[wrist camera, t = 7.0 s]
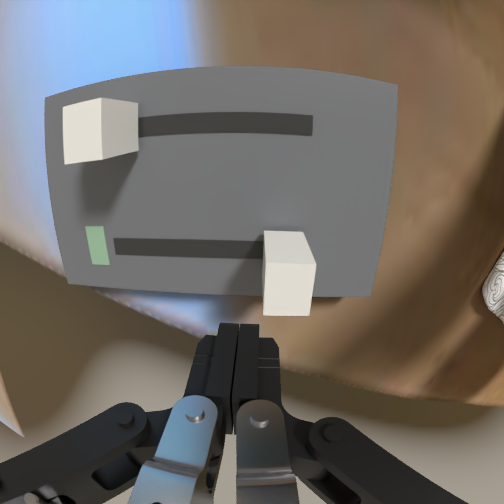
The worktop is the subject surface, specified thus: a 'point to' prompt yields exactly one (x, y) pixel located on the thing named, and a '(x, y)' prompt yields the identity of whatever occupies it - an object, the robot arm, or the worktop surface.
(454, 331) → the worktop surface
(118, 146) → the block
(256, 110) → the slider control panel
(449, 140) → the worktop surface
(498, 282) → the cookie jar
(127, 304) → the worktop surface
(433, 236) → the worktop surface
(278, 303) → the block
